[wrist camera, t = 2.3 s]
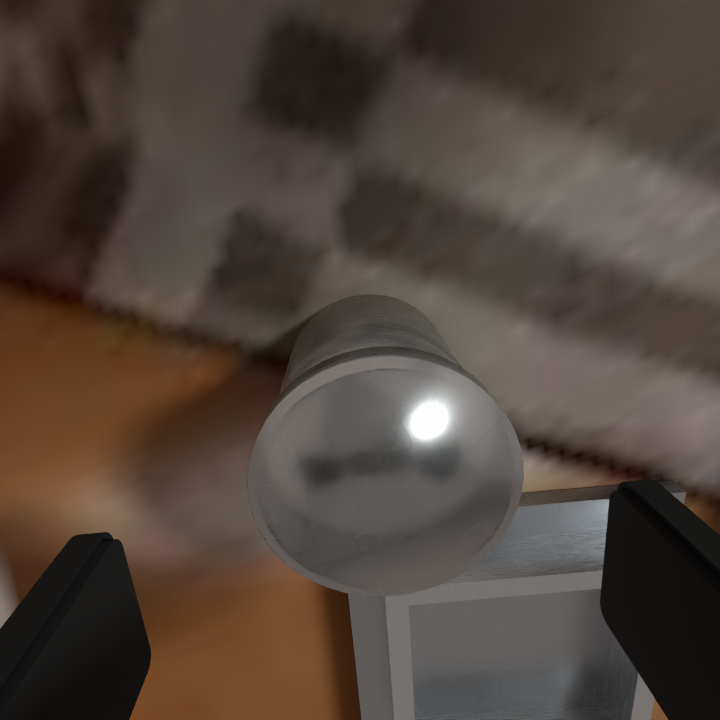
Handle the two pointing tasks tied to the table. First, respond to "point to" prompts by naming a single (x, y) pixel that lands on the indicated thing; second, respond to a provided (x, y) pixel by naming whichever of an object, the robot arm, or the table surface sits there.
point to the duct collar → (506, 629)
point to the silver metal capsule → (382, 455)
